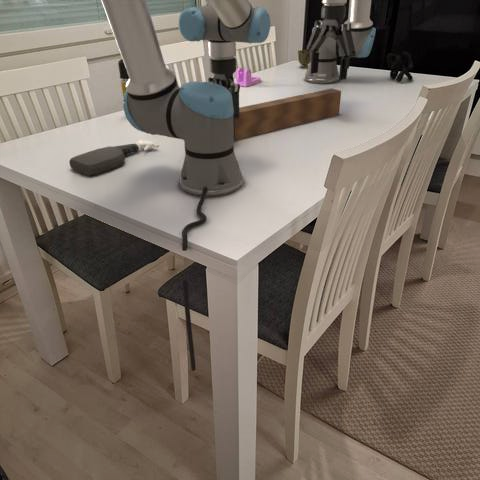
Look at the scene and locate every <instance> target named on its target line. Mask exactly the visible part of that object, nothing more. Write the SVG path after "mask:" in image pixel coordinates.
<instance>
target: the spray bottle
mask: <svg viewBox="0 0 480 480" xmlns="http://www.w3.org/2000/svg"><path fill="white" fill-rule="evenodd" d="M159 148H160V145H159V144H158V143H155V142H151V141H148V140H144V139H139V140H138V141H137V142H135V143H129V144H128V143H126V144H122V145H113V146H105V147H100V148H97V149H94V150H90V151H87V152H83V153H81V154H78V155H74V156H73V157H70V159H69V161H68V162H69V167H70V168H71V169H72V170H74V171H75V172H78V173H81V174H83V175H85V176H89V177H90V176H91V177H92V176H95V175H99V174H102V173H105V172H107V171H110V170H113V169H116V168H118V167H120V166H122V165H123V164H124V163H125V158H126V156H127V155H131V154H133V153H138V151H140V150H143V151H144V152H146V151H147V150H149V149H159Z"/></svg>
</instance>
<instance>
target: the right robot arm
mask: <svg viewBox="0 0 480 480" xmlns="http://www.w3.org/2000/svg"><path fill="white" fill-rule="evenodd" d="M347 1H348V0H321V4H323V5H322V6H321V9H320V11H321V12H320V18H321V20H315V21H314V25H313V26H314V27H312V30H311V35H310V38H309V40H308V42H307V45H306V50H307V51H308V52H309V51H310V52H311V54H310V63H309V64H308V67H307V68H306V72H305V75H304V80H305V81H306V82H307V83H311V84H319V85H320V84H323V85H324V84H326V85H327V84H335V83H337V82H339V81H345V80H347V77H348V71H349V69H350V62H351V58H367V57H369V56H370V54H371V51H372V48H373V44H374V41H375V36H376V31H377V29H376V28H375V27H373V26H374V25H373V24H374V22H373V21H372V20H371V18H370V16H371V9H372V8H371V7H372V0H349V3H348V16H347V20H345V18H346V12H347V6H346V4H347ZM344 20H345V21H344ZM338 57H340V62H339V69H338V64H337V59H338Z"/></svg>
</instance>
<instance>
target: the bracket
mask: <svg viewBox="0 0 480 480" xmlns="http://www.w3.org/2000/svg"><path fill="white" fill-rule="evenodd" d="M261 81H262V78H261V77H260V76H252V70H251V69H250V68H245V69H244V68H243V67H236V72H235V84H240V87H245V88H247V87H249V86H252V85H255V84H258V83H261Z"/></svg>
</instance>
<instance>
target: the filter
mask: <svg viewBox="0 0 480 480" xmlns="http://www.w3.org/2000/svg"><path fill="white" fill-rule="evenodd" d="M117 65H118V72H119V79H121V80H120V84H121V85H120V86H121V91H122V97H123V98H124V94H125V92H126V84H127V82H128V80H129V76H128V73H127V70H126V67H125V64H124V62H123V59H122V58H121V59H119V60H118V63H117ZM123 103H125V100H124V99H123Z"/></svg>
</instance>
